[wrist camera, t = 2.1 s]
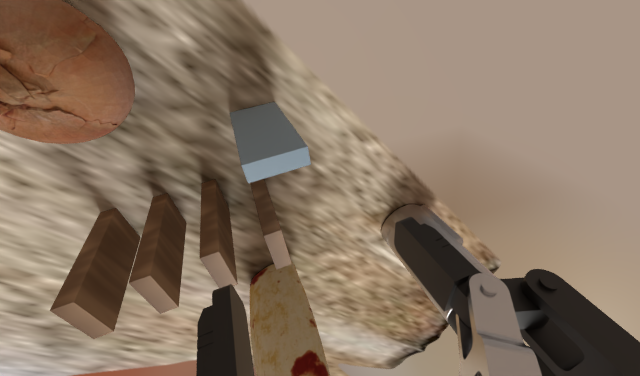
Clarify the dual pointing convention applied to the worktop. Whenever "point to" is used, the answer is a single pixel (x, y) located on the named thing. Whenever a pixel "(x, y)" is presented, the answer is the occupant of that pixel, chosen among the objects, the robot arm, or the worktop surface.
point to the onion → (60, 74)
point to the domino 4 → (267, 142)
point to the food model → (284, 326)
